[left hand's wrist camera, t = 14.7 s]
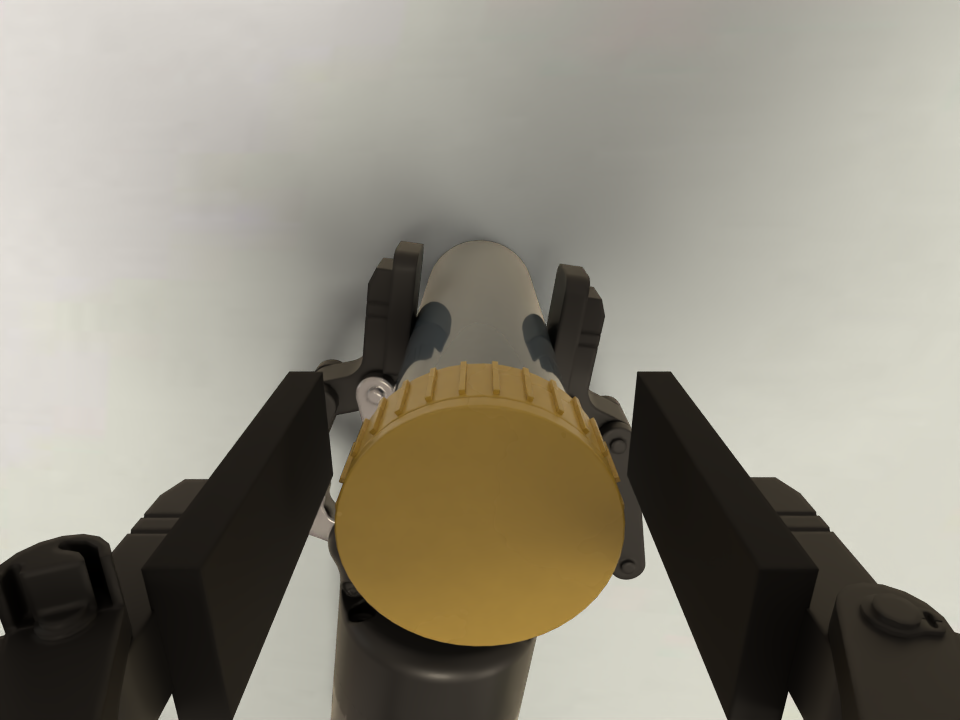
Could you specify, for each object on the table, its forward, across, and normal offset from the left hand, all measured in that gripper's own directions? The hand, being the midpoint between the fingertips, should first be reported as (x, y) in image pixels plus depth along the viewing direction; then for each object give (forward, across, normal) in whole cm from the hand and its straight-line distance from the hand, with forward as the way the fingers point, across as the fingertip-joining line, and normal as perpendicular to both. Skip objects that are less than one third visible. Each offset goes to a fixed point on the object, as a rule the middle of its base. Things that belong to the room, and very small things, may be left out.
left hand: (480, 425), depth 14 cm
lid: (-4, 0, 0) cm, 4 cm away
